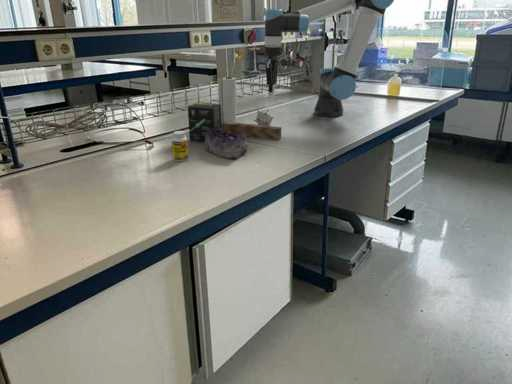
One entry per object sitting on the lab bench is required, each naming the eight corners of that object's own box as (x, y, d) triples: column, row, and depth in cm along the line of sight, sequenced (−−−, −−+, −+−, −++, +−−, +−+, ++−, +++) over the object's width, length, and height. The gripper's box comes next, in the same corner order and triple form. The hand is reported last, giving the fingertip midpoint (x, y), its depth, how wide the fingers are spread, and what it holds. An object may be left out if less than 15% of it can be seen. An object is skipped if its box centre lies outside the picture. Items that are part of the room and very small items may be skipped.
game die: (266, 136, 194) (271, 122, 186) (250, 128, 194) (254, 115, 186) (273, 123, 199) (278, 109, 190) (256, 116, 199) (261, 102, 190)
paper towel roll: (239, 123, 200) (238, 77, 192) (229, 126, 196) (228, 79, 188) (228, 121, 205) (227, 76, 196) (219, 123, 201) (217, 77, 192)
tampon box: (222, 138, 178) (221, 103, 172) (213, 144, 170) (212, 108, 164) (199, 135, 182) (197, 101, 176) (189, 141, 174) (187, 106, 168)
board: (281, 138, 177) (281, 127, 175) (278, 140, 175) (279, 129, 173) (225, 132, 186) (224, 121, 184) (222, 134, 183) (221, 123, 181)
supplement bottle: (173, 162, 150) (171, 134, 145) (172, 157, 155) (170, 130, 150) (189, 161, 151) (187, 133, 147) (188, 156, 156) (186, 129, 152)
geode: (193, 151, 162) (194, 125, 159) (215, 148, 171) (216, 123, 168) (230, 160, 150) (232, 133, 147) (252, 157, 158) (254, 130, 155)
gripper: (269, 44, 196) (268, 95, 205) (259, 46, 185) (258, 100, 194) (285, 45, 194) (282, 97, 203) (276, 47, 182) (274, 102, 192)
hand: (271, 98), depth 199 cm, fingers closed
